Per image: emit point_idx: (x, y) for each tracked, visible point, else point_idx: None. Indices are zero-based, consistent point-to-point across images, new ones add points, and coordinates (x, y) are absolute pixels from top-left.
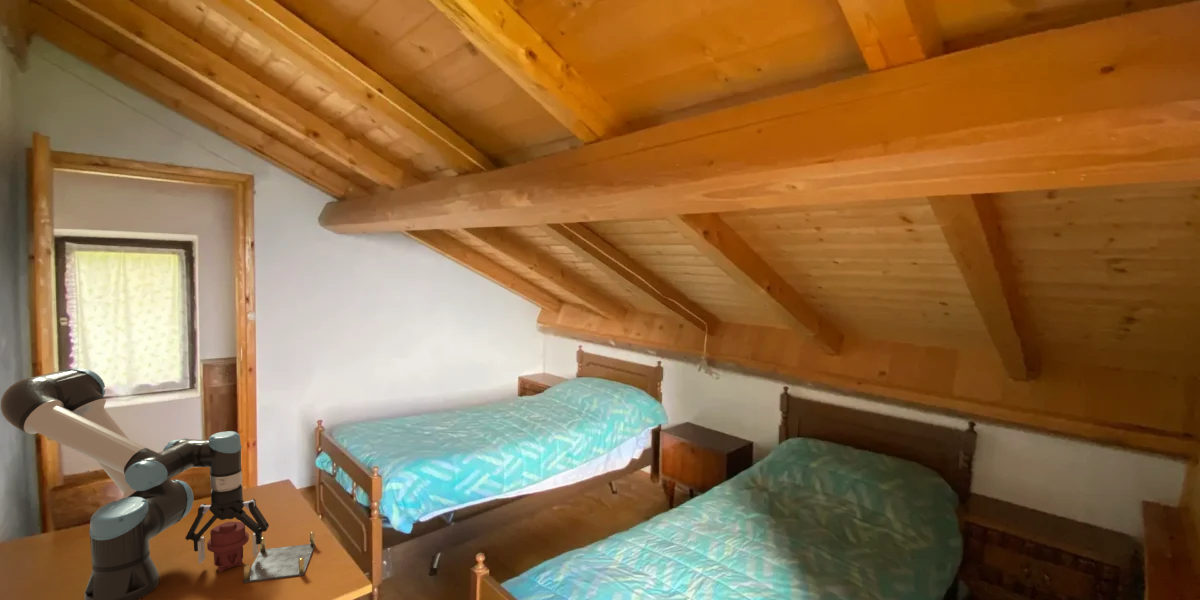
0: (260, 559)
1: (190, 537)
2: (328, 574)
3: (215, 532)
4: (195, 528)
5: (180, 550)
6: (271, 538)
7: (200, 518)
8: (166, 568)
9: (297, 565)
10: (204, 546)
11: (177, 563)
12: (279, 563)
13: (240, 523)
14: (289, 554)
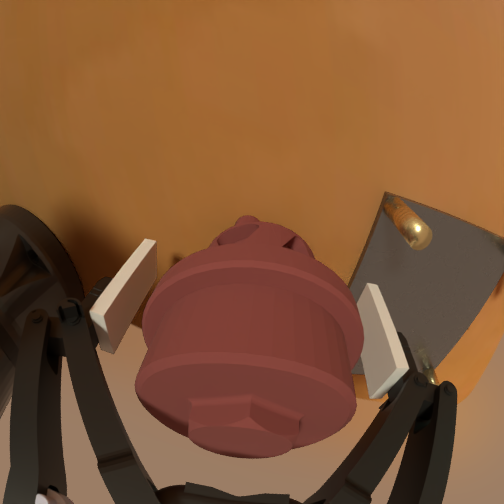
0: (373, 279)
1: (61, 357)
2: (456, 375)
3: (179, 427)
4: (60, 406)
5: (58, 58)
6: (429, 84)
7: (62, 469)
8: (56, 187)
9: (437, 345)
10: (130, 277)
11: (71, 161)
12: (411, 324)
13: (330, 404)
14: (451, 285)
